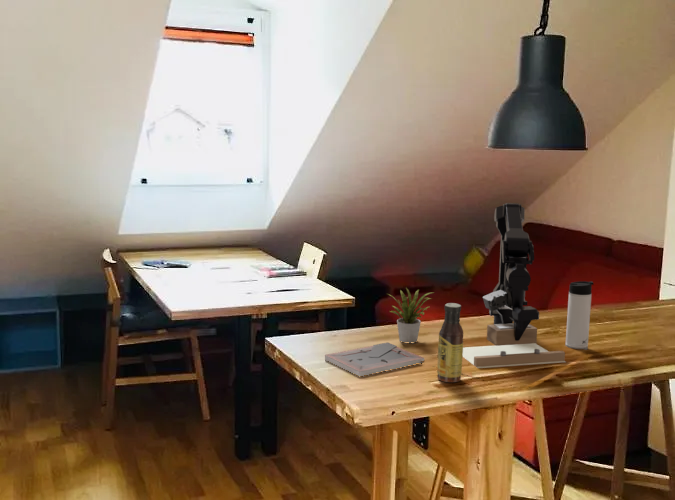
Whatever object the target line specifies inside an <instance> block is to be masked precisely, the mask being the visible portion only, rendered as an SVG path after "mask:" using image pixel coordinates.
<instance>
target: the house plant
mask: <svg viewBox="0 0 675 500" xmlns="http://www.w3.org/2000/svg"><path fill="white" fill-rule="evenodd" d="M404 289H406V293H407V295H408V296H407V295H405V293H404V292H403V291H402V290H401V289H400V290H399V292H400V296H401V301H402V302H401V301H400V299H396V297H394V296H393V295H391V294H389V293H387V295H388V296H390V297H392V298H393V299H394V300H395V301H396V303H397V304H398V306H399V307H400V309H399V307H396V306H395V305H391V307H392V308H394V310H391V311H390V310H389V312H388V313H393V314H395V315H397V316H398V317H399V318H398V319H397V320H396V323H397V324H396V325H397V332H398V338H399V342H400V341H402V342H409V343H411V342H416V341H417V342H418V338H419V333H420V327H421V324H422V323H421V322H422V321H421V320H420V319H417V318H418V317H419V318H421V319H422V315H423V316H424V315H425V312H424V311H427V309H428V308H429V306H427V307H424V308H423V307H421V306H423V304H424V303H425V302H427V301H428V300H432V299H433V298H430V297H427V298H426V296H428V295H431V294H434V293H435V292H426V293H424V294H423V295H422V296H421V297H420V298H419V299H418V297H419V291H420V289H417V290H416V291H415V293H414V295H413V298H412V295H411V292H410V290H409V289H408V288H407V287H405V288H404ZM417 300H418V301H417ZM419 304H420V305H419ZM417 307H418V308H417ZM420 310H421V311H420ZM402 342H401V343H402ZM417 342H416V343H417Z"/></svg>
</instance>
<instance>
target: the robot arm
mask: <svg viewBox="0 0 675 500" xmlns="http://www.w3.org/2000/svg"><path fill="white" fill-rule="evenodd" d="M525 210H526V208H525V207H523V206H522V204H520V203H517V202H516V203H515V202H513V203H511V202H506V203H504V204H502V205H500V206H496V207H495V210H494V216H493V219H494V222H495V223H496V224H495V226H496V229H497V230H498V232H499V234H500V249H499V251H500V252H499V272H498V283H497V284H496V286H495V287H494V288H493V290H492V292H490V293H488V294H486V295H483V296H482V299H483V304H484V307H485V309H487V310H488V311H489V316H490V317H493V324H510V323H514V335H515V340H516V341H519V340H520V338H521V336H522V335H523V333H524V331H525V330H526V328H527V326H528V325H529V324H531V322H532V321H539V320H540V312H539V310H538V309H537V308H536V307H533V306H531V305H530V306H529V305H528V301H527V300H526V299H525V297H526V291H529V286H530V284H531V281H532V279H531V278H532V277H531V275H530V273H529V271H528V270H527V265H533V262H534V261H535V249H534V246H535V245H533V241H532V240H530V236H529V233H528V232H526V231H524V228H523V222H525Z"/></svg>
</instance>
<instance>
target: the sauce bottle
mask: <svg viewBox="0 0 675 500" xmlns="http://www.w3.org/2000/svg"><path fill="white" fill-rule="evenodd" d="M461 311H462V305H461V304H459V303H455V302H448V303H446V304H444V320H443V323H442V325H441V328H440V331H439V333H438V344H437V364H436V365H437V367H436V374H437V376H436V377H437V379H438V380H439V381H441V382H443V383H458V382H460V381H461V379H462V376H461V375H462V372H463V371H462V370H463V357H462V356H463V348H464V330H463V326H462V325H461V323H460V322H461V319H460V317H461Z"/></svg>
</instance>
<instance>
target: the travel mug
mask: <svg viewBox="0 0 675 500" xmlns="http://www.w3.org/2000/svg"><path fill="white" fill-rule="evenodd" d="M592 286H594V282H593V281H583V280H582V281H574V282H570V283H569V288H568V289H569V290H568V299H567V300H568V301H567V316H566V332H565V347H566V348H569V349H573V350H575V349H576V350H585V351H587V350H588V349H589V336H590V335H589V333H590V321H591V319H590V317H591V306H592V290H593V289H592Z"/></svg>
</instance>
